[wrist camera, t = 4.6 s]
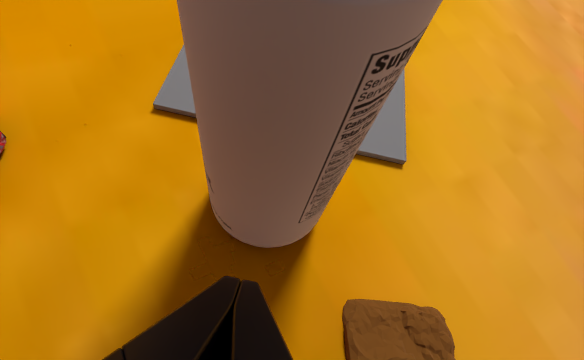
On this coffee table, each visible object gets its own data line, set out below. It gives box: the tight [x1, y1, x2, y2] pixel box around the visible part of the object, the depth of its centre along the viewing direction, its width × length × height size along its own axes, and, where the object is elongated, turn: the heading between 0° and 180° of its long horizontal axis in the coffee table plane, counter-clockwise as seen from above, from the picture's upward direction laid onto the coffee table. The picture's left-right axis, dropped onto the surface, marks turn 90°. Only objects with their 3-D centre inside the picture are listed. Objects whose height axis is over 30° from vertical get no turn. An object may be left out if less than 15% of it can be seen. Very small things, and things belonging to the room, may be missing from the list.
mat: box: [153, 45, 406, 164], centre depth 26 cm, size 22×16×1 cm
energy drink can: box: [177, 0, 442, 248], centre depth 12 cm, size 6×6×15 cm
